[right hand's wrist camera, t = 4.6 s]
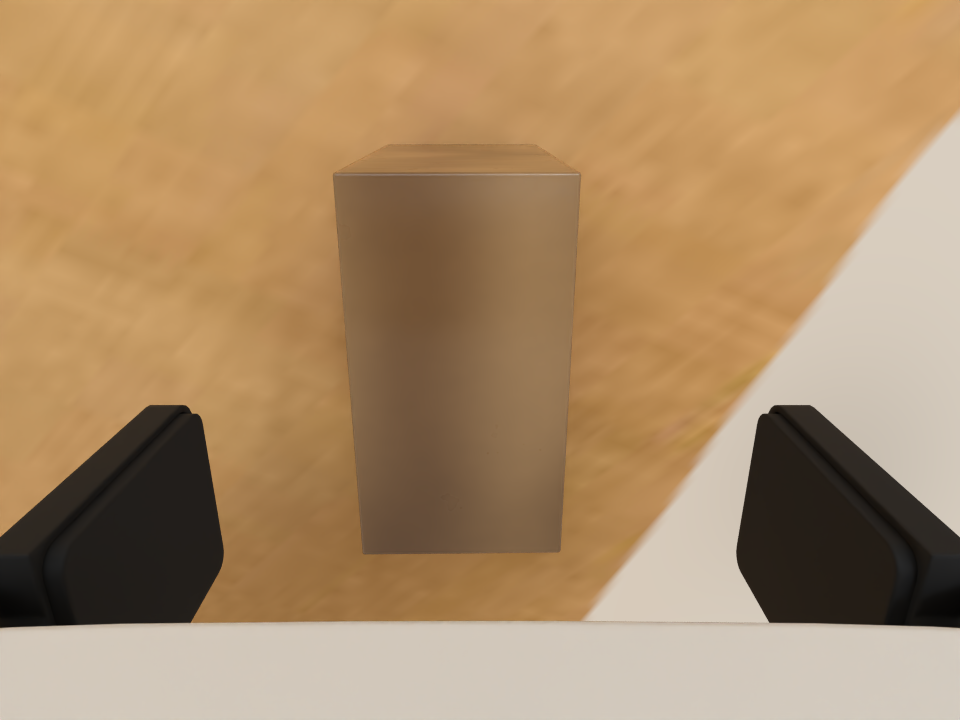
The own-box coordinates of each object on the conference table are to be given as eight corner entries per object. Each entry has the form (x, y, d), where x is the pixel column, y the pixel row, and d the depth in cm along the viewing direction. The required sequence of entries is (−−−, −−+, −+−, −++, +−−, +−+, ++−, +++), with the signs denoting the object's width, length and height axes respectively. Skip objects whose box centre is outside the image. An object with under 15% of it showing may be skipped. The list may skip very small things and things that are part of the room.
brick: (536, 144, 21) (580, 172, 13) (529, 398, 24) (560, 552, 16) (386, 144, 21) (332, 172, 13) (399, 399, 24) (362, 555, 16)
